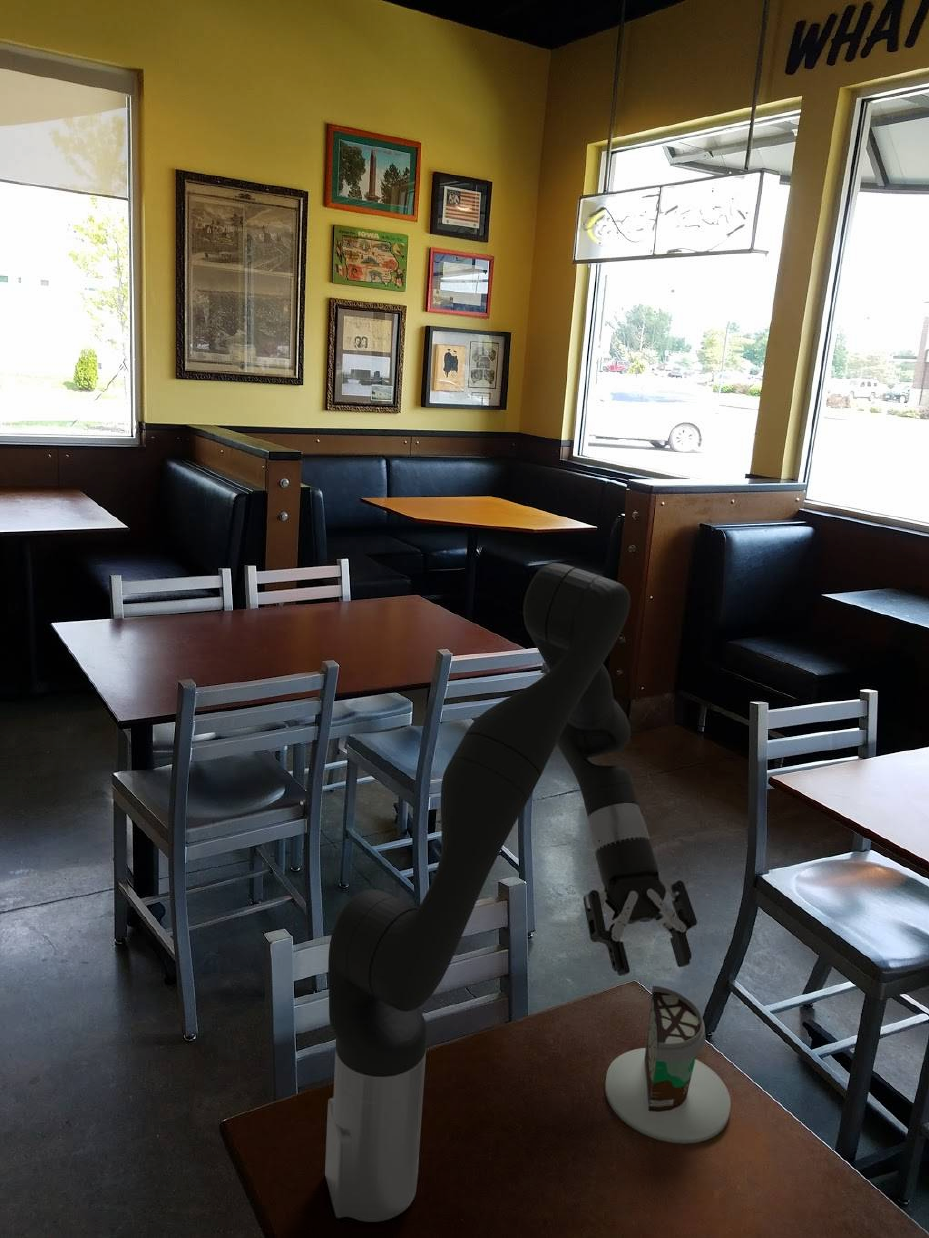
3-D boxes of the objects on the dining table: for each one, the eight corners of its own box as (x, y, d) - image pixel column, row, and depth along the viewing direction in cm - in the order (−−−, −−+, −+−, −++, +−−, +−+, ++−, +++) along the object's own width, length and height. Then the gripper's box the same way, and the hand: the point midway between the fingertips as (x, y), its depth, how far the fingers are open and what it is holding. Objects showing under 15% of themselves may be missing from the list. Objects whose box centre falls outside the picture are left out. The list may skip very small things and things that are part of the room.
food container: (702, 1128, 113) (713, 1053, 111) (649, 1119, 114) (659, 1045, 111) (692, 1057, 125) (702, 989, 123) (643, 1050, 126) (652, 982, 123)
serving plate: (642, 1154, 110) (644, 1145, 110) (584, 1066, 124) (585, 1058, 123) (754, 1129, 115) (755, 1120, 115) (686, 1047, 129) (687, 1039, 128)
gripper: (584, 839, 124) (616, 971, 116) (681, 830, 129) (718, 956, 121) (563, 858, 130) (592, 983, 123) (656, 848, 135) (690, 969, 127)
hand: (654, 969), depth 122 cm, fingers open, 8 cm apart
